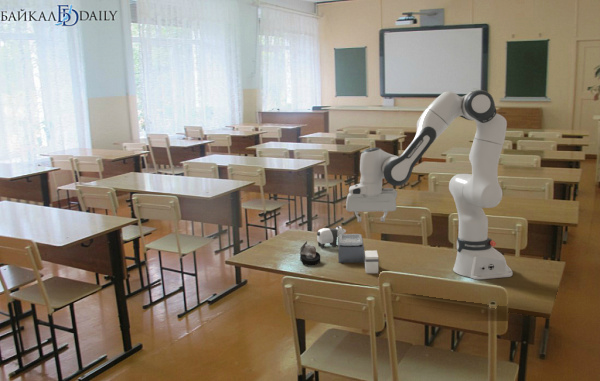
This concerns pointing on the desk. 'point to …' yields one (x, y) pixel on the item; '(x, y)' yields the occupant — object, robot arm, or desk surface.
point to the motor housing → (350, 248)
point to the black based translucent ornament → (309, 255)
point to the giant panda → (329, 236)
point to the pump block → (371, 261)
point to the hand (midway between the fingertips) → (371, 221)
